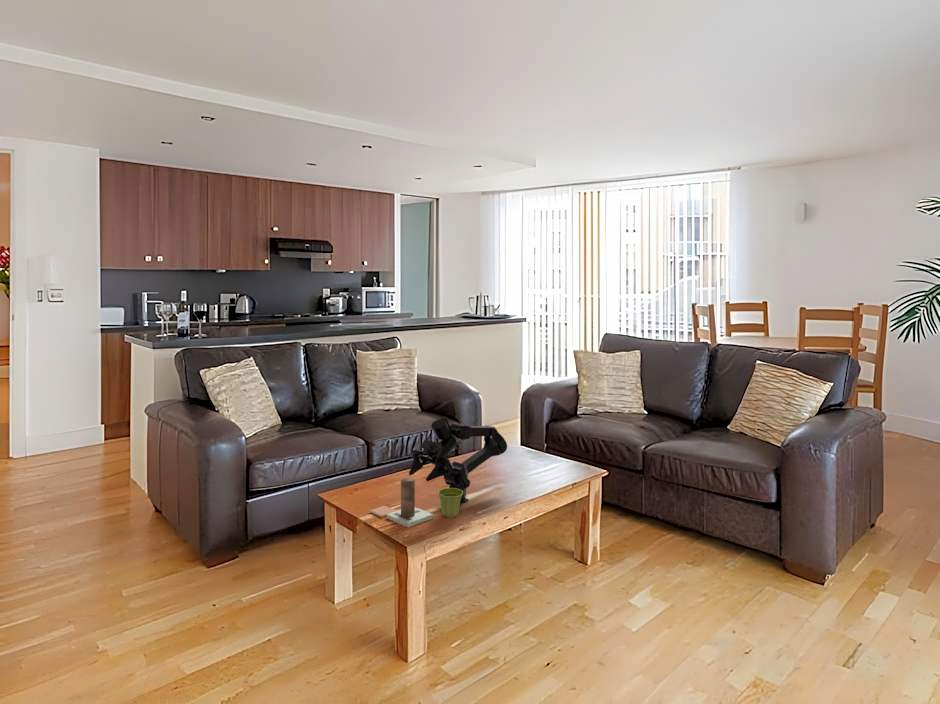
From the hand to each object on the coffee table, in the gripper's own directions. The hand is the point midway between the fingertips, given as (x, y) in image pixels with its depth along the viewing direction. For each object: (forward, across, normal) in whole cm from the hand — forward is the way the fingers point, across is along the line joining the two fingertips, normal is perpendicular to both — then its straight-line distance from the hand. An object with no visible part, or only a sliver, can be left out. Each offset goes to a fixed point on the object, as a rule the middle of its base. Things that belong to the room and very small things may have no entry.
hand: (417, 477), depth 234 cm
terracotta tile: (+14, -11, +8) cm, 20 cm away
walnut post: (+11, 0, +8) cm, 14 cm away
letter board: (+11, 0, +10) cm, 15 cm away
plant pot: (0, +8, +17) cm, 19 cm away
